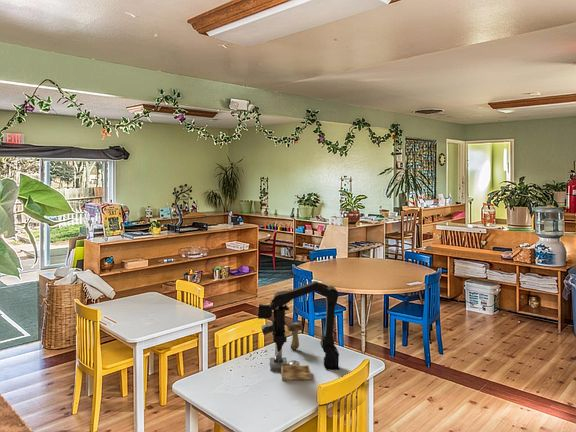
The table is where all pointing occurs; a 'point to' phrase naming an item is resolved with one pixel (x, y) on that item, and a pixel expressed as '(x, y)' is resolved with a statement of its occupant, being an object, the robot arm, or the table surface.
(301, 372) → the tray
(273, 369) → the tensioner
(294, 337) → the mushroom
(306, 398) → the table surface
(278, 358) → the pin
